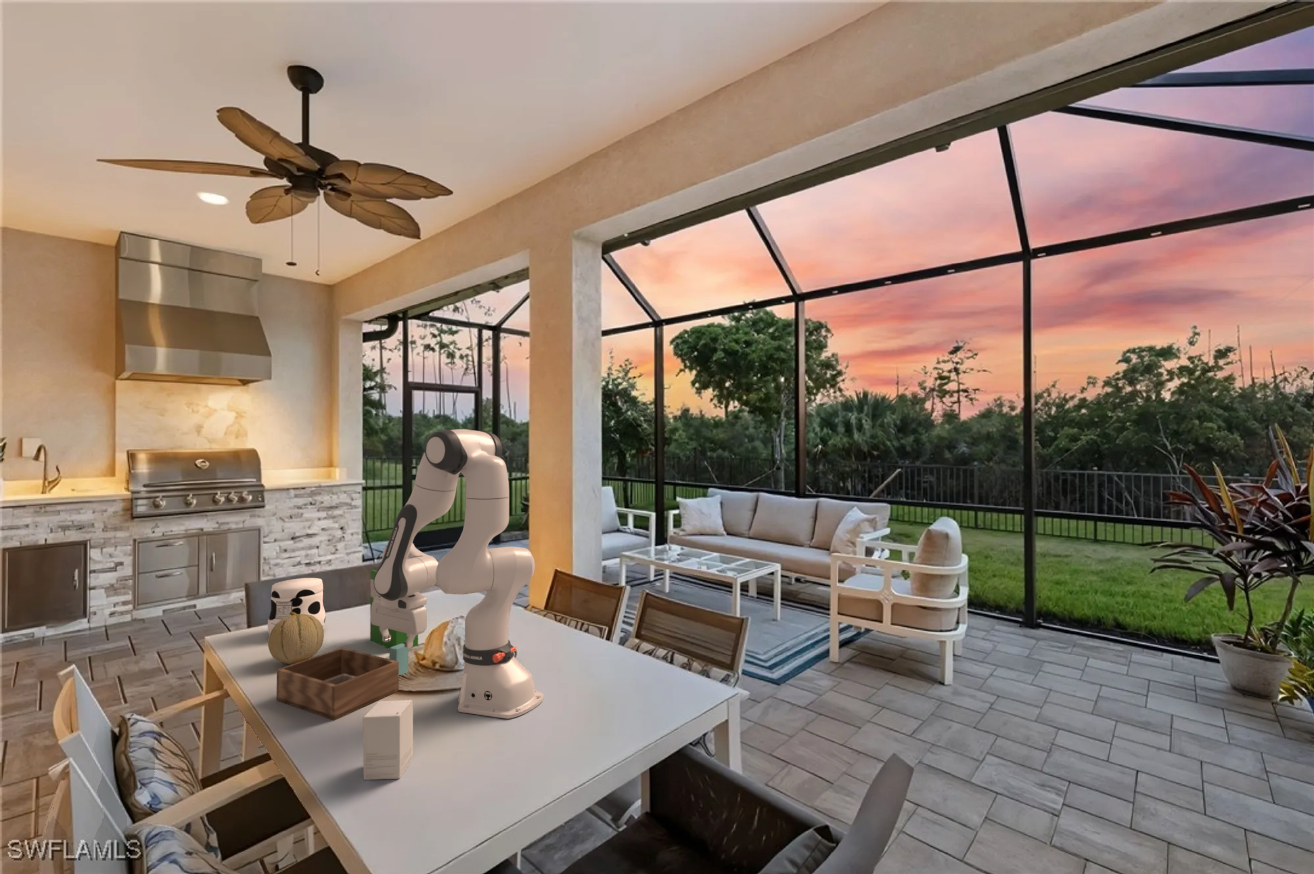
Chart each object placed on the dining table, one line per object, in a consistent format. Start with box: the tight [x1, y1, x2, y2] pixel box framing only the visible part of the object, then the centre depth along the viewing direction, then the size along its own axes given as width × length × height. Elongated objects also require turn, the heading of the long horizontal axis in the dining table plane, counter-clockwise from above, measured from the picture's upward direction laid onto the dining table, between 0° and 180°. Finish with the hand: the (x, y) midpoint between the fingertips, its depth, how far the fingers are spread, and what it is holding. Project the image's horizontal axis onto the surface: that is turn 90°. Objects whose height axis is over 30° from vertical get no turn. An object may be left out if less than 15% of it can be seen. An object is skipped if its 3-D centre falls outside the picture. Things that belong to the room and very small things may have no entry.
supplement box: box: [362, 699, 414, 781], centre depth 115 cm, size 7×7×13 cm
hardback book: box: [369, 569, 419, 650], centre depth 190 cm, size 18×7×24 cm, turn 52°
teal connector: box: [388, 643, 409, 676], centre depth 164 cm, size 3×4×8 cm
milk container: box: [267, 577, 327, 634], centre depth 199 cm, size 17×17×18 cm
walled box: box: [276, 647, 400, 721], centre depth 149 cm, size 24×18×8 cm
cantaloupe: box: [267, 612, 325, 665], centre depth 173 cm, size 15×15×15 cm
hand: (397, 644), depth 164 cm, fingers open, 8 cm apart
